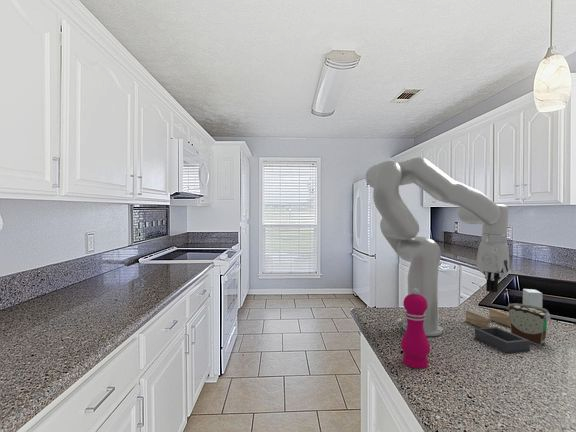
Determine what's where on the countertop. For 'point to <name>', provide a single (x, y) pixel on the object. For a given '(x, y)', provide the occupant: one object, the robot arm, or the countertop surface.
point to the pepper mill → (415, 332)
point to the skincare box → (532, 297)
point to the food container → (529, 322)
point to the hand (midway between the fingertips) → (491, 291)
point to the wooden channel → (485, 321)
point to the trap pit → (502, 339)
